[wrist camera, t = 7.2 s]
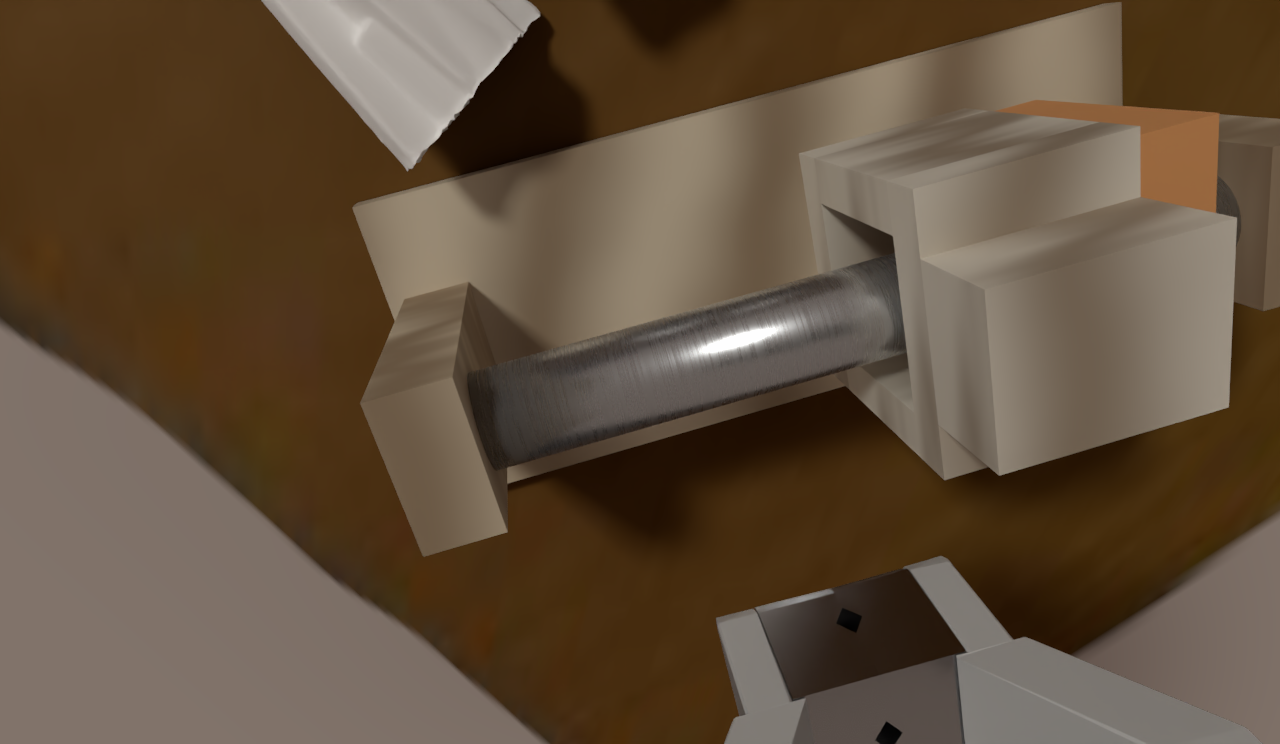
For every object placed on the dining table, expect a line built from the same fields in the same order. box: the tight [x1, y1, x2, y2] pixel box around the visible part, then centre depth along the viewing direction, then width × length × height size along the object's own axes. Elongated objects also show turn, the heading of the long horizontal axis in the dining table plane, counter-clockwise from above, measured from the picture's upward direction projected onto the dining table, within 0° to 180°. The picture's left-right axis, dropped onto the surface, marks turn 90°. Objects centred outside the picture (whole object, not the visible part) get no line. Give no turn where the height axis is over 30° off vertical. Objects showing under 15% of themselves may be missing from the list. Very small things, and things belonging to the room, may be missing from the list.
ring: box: [996, 100, 1219, 213], centre depth 22 cm, size 2×6×6 cm, turn 14°
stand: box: [352, 2, 1280, 557], centre depth 23 cm, size 24×10×9 cm, turn 104°
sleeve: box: [799, 108, 1237, 480], centre depth 20 cm, size 5×7×10 cm
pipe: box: [467, 176, 1241, 471], centre depth 21 cm, size 19×3×3 cm, turn 104°
